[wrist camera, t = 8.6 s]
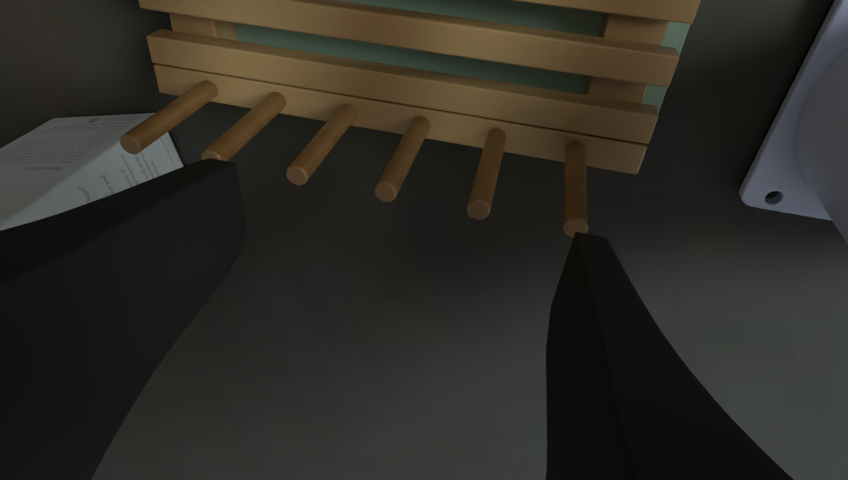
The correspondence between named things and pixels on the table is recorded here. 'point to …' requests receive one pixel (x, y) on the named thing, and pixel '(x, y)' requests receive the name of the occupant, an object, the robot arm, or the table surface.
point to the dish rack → (429, 79)
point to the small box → (75, 166)
